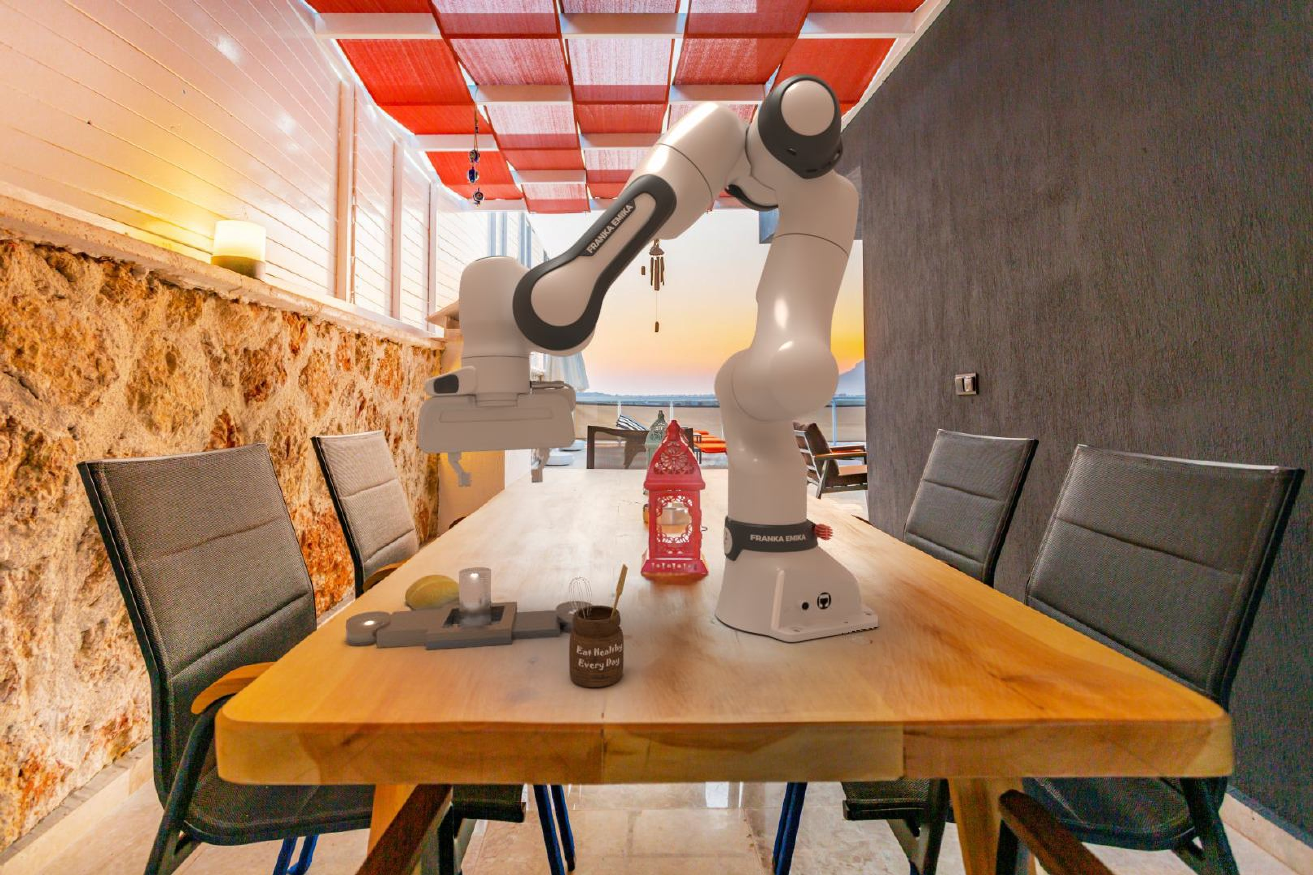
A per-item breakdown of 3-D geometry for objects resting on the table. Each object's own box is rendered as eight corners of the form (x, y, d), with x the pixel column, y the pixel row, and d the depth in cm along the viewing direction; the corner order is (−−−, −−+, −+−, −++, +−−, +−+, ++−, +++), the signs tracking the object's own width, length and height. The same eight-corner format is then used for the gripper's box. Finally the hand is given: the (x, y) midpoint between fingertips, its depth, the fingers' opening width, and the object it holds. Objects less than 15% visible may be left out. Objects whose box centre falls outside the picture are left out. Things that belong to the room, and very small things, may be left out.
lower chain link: (590, 611, 79) (590, 594, 79) (595, 638, 69) (595, 619, 69) (443, 619, 75) (442, 601, 75) (426, 649, 66) (425, 629, 66)
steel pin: (492, 624, 74) (492, 566, 74) (488, 636, 70) (488, 574, 70) (462, 626, 73) (462, 567, 73) (456, 638, 69) (456, 576, 69)
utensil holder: (564, 667, 61) (565, 562, 61) (619, 660, 63) (619, 558, 63) (573, 693, 56) (573, 577, 55) (632, 684, 58) (633, 572, 57)
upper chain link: (517, 615, 77) (517, 598, 77) (511, 644, 67) (511, 624, 67) (361, 624, 74) (361, 605, 73) (331, 655, 64) (331, 635, 64)
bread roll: (418, 618, 77) (418, 590, 76) (399, 601, 83) (399, 575, 83) (475, 605, 82) (475, 579, 82) (453, 590, 89) (453, 566, 89)
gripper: (574, 381, 78) (578, 477, 78) (422, 384, 74) (428, 485, 75) (576, 378, 72) (580, 482, 72) (410, 381, 68) (416, 491, 68)
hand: (501, 484), depth 73 cm, fingers open, 8 cm apart
